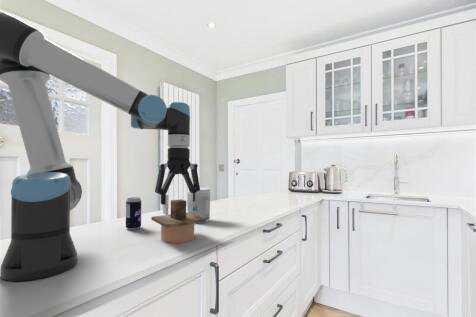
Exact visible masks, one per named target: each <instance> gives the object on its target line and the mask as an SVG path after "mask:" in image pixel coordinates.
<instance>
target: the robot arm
mask: <svg viewBox="0 0 476 317" xmlns="http://www.w3.org/2000/svg"><path fill="white" fill-rule="evenodd" d="M50 76H52V77H55V78H56V79H58V80H60V81H62V82H64V83H66V84H68V85H70V86H72V87H75V88H77V89H78V90H80V91H82V92H85V93H86V94H88V95H90V96H92V97H95V98H96V99H99V100H100V101H102V102H104V103H106V104H108V105H111V106H113V107H115V108H116V109H118V110H120V111H122V112H124V113H126V114H128V115H130V126H131V127H130V128H132V129H139V130H163V131H167V146H168V148H167V161H166V163H159V164H157V165H158V166H157V167H158V174H157V179H156V183H155V189H154V193H155V194H159V195H160V205H163V206H162V207H163V208H162V214H163V215H169V195H168V194H167V193H168V191H169V189H170V186H171V184H172V182H173V180H174V177H175V176H176V175H181V176H183V180H184V182H185V183H186V186H187V188H188V190H189V191H190V193H189V191H188V192H187V212H188V211H190V212H193V202H194V201H195V193H196V192H197V191H199V190H200V180H199V179H200V178H199V174H198V164H197V163H191V162H190V158H191V156H190V154H191V153H190V152H191V151H190V150H191V149H190V148H189V147H190V144H191V143H190V142H191V141H190V140H191V136H190V133H191V132H190V131H191V130H190V129H191V111H190V110H191V108H190V106H189V104H188V103H186V102H183V101H181V102H180V101H177V102H176V101H171V102H169V103H168V105H166V103H165V101H164V99H163V98H161V97H160V96H158V95H155V94H147V93H146V92H144V91H142V90H140V89H138V88H136V87H134V85H133V86H132V85H131V84H130V83H127V82H125V81H124V80H122V79H120V78H118V77H116V76H114V75H113V74H111V73H109V72H107V71H106V70H104V69H101V67H98V66H96V65H95V64H92V63H90V62H89V61H87V60H85V59H83V58H82V57H80V56H78V55H76V54H74V53H73V52H71V51H69V50H67V49H65V48H64V47H61V46H59V45H58V44H57V43H55V42H52V41H51V40H49V39H47V38H46V36H45V34H44V33H43V31H41V30H39V29H37V28H36V27H34V26H32V25H30V24H28V23H27V22H26V21H23V20H22V19H20V18H18V17H15V16H14V15H12V14H9V13H7V12H2V11H0V81H1V82H3V83H4V84H6V85H7V87H8V89H9V94H10V97H11V98H10V99H11V102H12V105H13V108H14V109H13V110H14V112H15V116H16V118H17V119H16V120H17V123H18V127H19V130H20V133H21V138H22V141H23V146H24V148H25V151H26V152H25V153H26V156H27V160H28V164H29V170H28V171H27V172H26V173H24V174H21V175H18V176H16V177H15V178H14V179H13V181H12V182H11V183H12V184H11V186H12V187H11V188H10V195H11V204H10V205H11V211H10V214H11V215H10V216H11V221H10V224H11V226H10V232H11V233H10V243H9V245H8V248H7V251H6V253H5V255H4V257H3V259H2V262H1V265H0V278H1V279H2V280H3V281H8V282H27V281H33V280H39V279H44V278H48V277H52V276H55V275H58V274H61V273H64V272H66V271H68V270H70V269H72V268H73V267H75V266H76V265H77V263H78V252H77V249H76V247H75V244H74V241H73V238H72V236H71V232H70V231H71V230H70V229H71V211H72V210H73V209H75V208H76V207H77V206H78V204H79V202H80V200H81V198H82V193H83V189H82V184H80V182H79V181H78V179H77V177H76V172H75V170H74V169H75V168H74V166H73V165H72V164H70V163H69V162H67V161H66V157H65V154H64V149H63V147H62V143H61V138H60V136H59V134H60V133H59V131H58V126H57V123H56V119H55V116H54V112H53V108H52V104H51V100H50V96H49V93H48V89H47V85H46V83H47V82H48V81H49V80H50V78H51V77H50ZM167 168H168V170H169V171H168V173H167V176H166V178H165V173H166V170H167ZM189 169H190V172H191V176H190V172H189ZM164 179H165V181H164Z"/></svg>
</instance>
